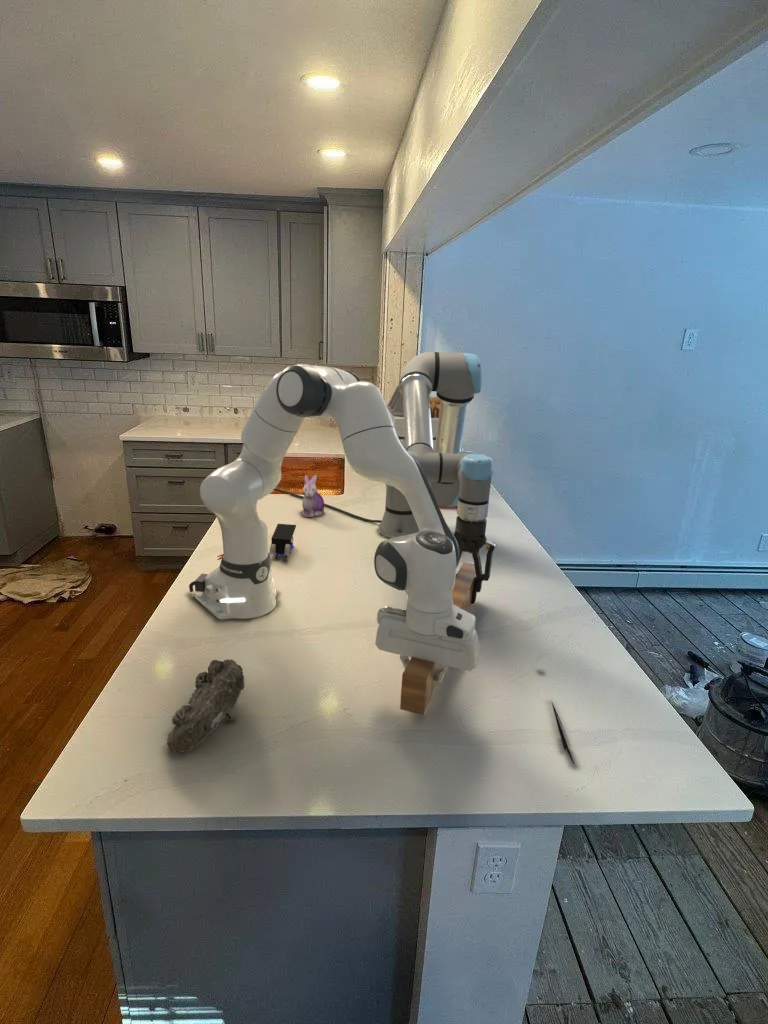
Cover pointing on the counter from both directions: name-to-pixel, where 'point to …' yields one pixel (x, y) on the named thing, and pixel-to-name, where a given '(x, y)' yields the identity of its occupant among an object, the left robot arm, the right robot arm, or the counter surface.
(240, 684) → the fossil
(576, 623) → the counter surface
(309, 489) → the figurine
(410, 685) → the post
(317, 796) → the counter surface
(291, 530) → the figurine character
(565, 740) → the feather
